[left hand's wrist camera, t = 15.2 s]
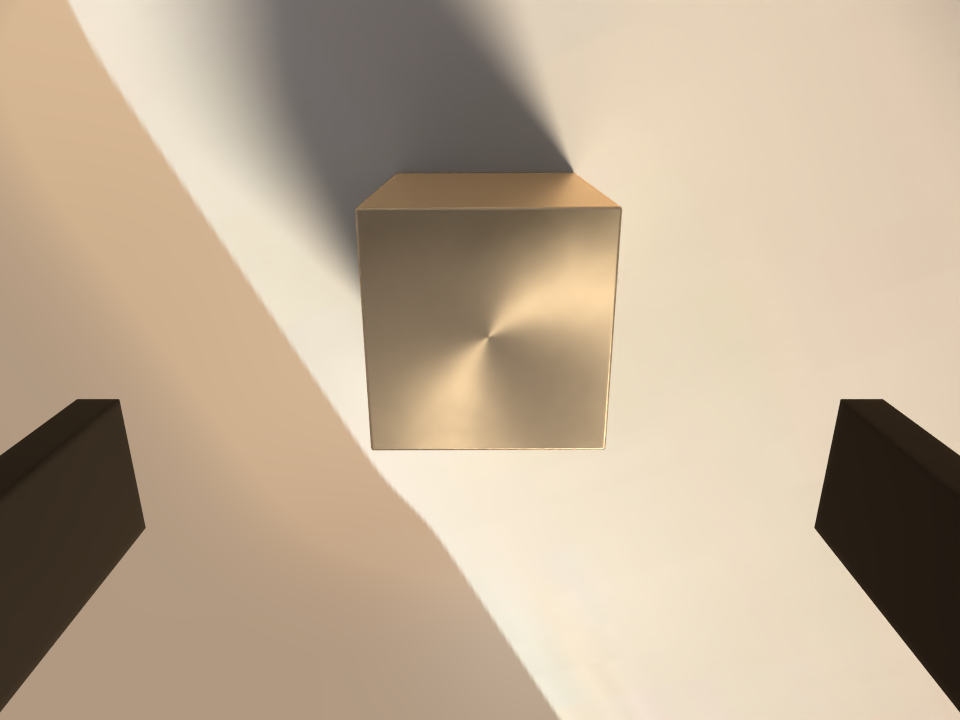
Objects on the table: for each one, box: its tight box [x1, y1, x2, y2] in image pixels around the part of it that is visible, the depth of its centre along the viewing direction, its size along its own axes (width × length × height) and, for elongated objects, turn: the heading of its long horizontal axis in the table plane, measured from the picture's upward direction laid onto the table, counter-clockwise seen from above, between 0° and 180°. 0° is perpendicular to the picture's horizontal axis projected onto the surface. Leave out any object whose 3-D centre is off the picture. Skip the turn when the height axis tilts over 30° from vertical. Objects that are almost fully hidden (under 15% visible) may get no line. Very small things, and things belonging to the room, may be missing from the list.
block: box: [355, 173, 622, 450], centre depth 24 cm, size 7×7×10 cm
